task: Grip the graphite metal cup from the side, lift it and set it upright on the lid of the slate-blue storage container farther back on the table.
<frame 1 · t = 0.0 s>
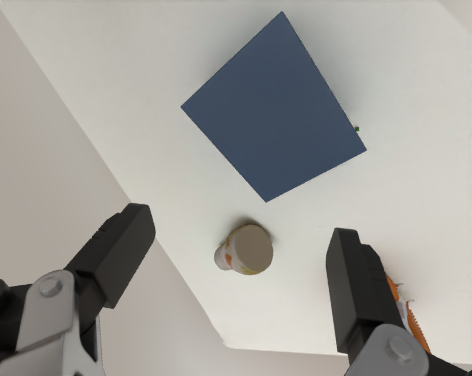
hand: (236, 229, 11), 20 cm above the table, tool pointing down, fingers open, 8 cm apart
container: (276, 103, 27), on the table
patterned salt shaker: (243, 239, 41), on the table
coaster: (350, 125, 27), on the table, touching container
coil: (372, 279, 41), on the table
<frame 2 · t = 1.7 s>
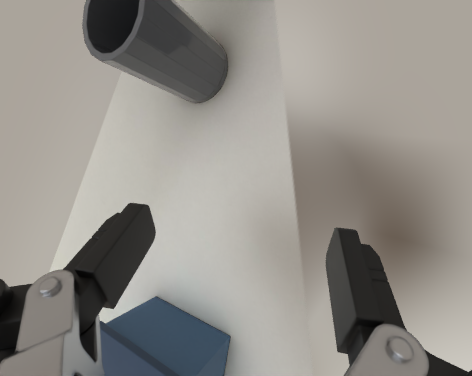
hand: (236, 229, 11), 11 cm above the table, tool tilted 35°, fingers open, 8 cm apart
container: (182, 365, 27), on the table
cup: (201, 71, 25), on the table
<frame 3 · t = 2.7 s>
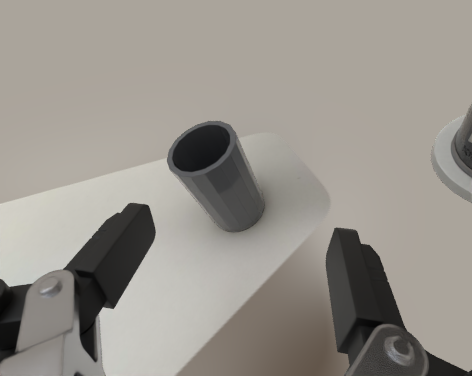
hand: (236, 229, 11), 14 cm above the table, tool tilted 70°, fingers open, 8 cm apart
cup: (238, 207, 28), on the table
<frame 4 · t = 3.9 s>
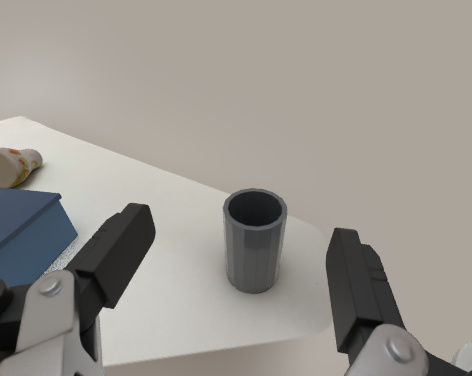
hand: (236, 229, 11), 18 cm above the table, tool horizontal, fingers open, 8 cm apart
container: (10, 257, 32), on the table
cup: (252, 269, 30), on the table
patterned salt shaker: (22, 177, 48), on the table
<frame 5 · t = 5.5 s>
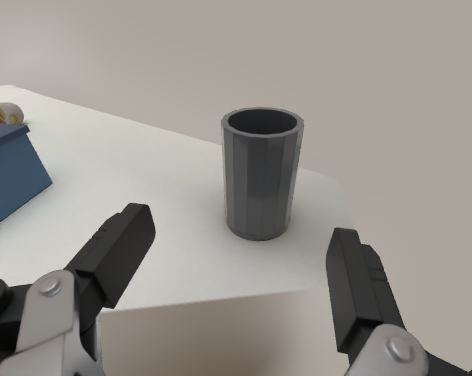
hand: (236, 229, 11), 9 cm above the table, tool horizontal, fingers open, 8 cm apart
cup: (256, 217, 25), on the table
patterned salt shaker: (0, 133, 43), on the table
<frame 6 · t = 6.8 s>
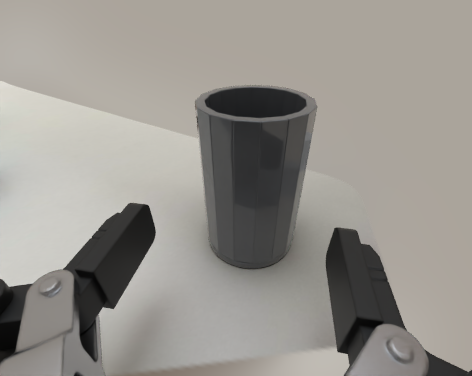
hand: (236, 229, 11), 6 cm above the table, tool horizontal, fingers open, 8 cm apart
cup: (249, 234, 19), on the table
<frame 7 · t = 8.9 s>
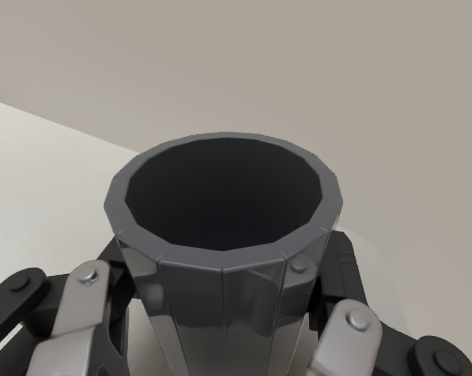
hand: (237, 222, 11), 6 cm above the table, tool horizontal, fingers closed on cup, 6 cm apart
cup: (230, 338, 13), on the table, touching gripper
when the fingers open (13 cm above the table, at t = 17.3 s): cup stays where it is, resting on container.
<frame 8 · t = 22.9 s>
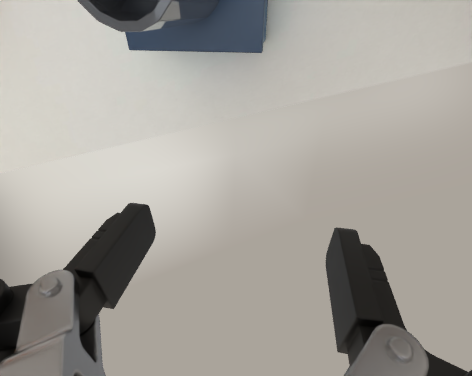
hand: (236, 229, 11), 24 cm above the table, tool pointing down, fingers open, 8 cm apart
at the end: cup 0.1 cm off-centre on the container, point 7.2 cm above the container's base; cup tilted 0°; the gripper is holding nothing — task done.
